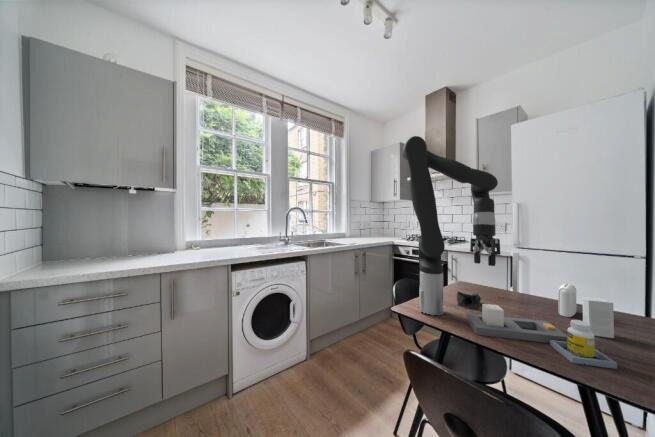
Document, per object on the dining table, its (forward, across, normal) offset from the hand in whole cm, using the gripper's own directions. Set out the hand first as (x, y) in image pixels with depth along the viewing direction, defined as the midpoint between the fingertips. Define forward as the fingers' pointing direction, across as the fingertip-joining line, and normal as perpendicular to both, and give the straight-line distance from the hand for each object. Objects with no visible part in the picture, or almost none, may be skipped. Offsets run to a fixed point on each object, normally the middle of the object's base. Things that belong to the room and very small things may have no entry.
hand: (484, 264), depth 93 cm
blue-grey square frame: (+23, +23, +13) cm, 35 cm away
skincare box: (+21, +11, +32) cm, 40 cm away
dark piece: (+20, -17, +5) cm, 27 cm away
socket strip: (+22, +8, +4) cm, 24 cm away
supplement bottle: (+24, +23, +13) cm, 35 cm away
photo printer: (+19, -6, +39) cm, 44 cm away
